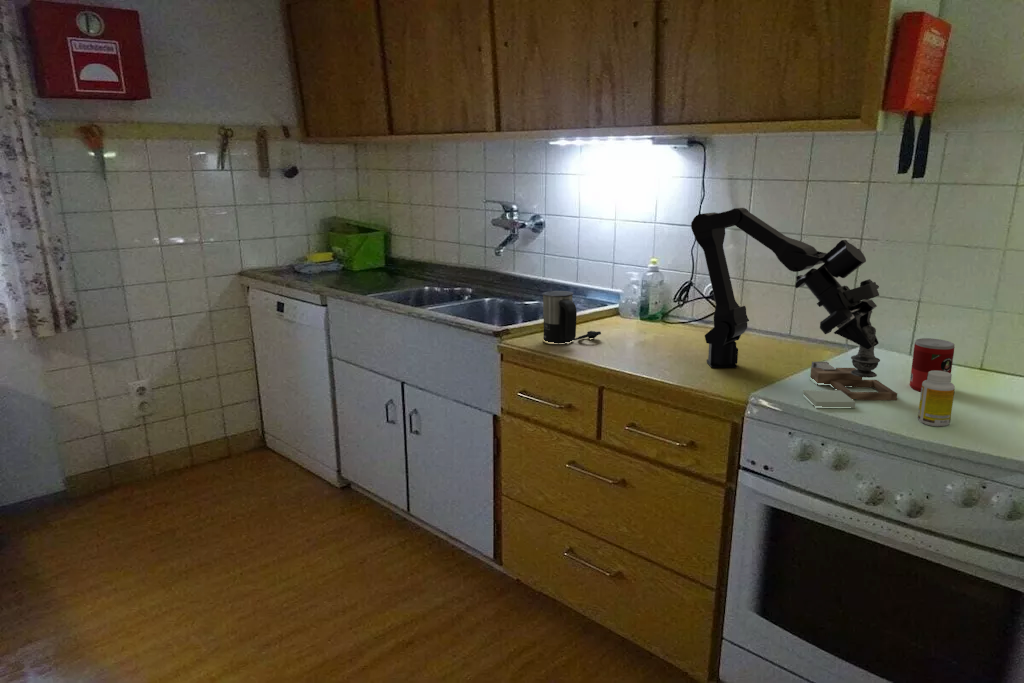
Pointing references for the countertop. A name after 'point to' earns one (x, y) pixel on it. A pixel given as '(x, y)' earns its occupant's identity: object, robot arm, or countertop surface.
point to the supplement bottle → (936, 399)
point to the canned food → (930, 359)
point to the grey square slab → (829, 398)
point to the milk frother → (561, 317)
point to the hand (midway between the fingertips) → (873, 346)
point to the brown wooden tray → (852, 384)
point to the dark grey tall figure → (866, 356)
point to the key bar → (823, 366)
